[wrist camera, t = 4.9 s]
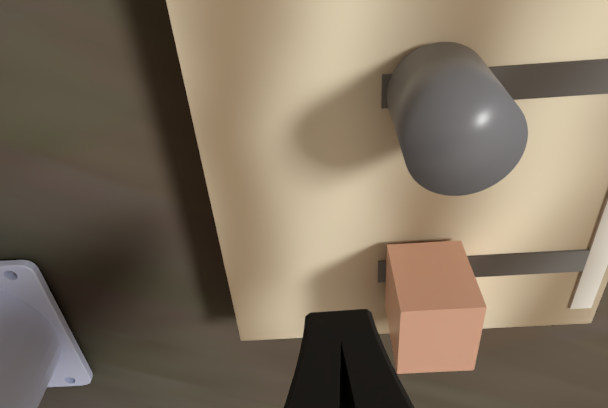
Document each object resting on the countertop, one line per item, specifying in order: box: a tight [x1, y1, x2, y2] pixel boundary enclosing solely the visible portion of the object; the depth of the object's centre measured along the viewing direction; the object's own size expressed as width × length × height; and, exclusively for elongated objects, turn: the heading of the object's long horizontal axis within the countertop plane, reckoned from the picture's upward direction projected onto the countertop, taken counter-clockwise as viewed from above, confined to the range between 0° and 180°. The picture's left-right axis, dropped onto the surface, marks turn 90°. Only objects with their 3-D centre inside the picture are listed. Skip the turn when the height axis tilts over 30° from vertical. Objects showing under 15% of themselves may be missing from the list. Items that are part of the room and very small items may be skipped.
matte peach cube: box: [385, 240, 487, 374], centre depth 17 cm, size 2×3×3 cm
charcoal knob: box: [387, 42, 528, 196], centre depth 13 cm, size 3×3×3 cm
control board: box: [166, 0, 608, 341], centre depth 15 cm, size 14×21×2 cm, turn 4°
